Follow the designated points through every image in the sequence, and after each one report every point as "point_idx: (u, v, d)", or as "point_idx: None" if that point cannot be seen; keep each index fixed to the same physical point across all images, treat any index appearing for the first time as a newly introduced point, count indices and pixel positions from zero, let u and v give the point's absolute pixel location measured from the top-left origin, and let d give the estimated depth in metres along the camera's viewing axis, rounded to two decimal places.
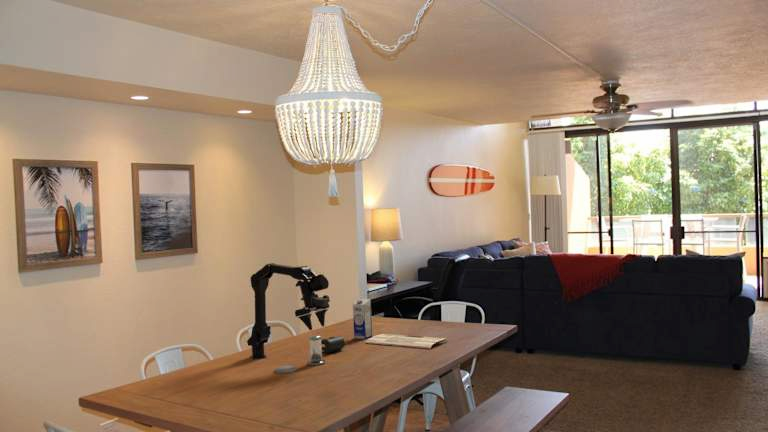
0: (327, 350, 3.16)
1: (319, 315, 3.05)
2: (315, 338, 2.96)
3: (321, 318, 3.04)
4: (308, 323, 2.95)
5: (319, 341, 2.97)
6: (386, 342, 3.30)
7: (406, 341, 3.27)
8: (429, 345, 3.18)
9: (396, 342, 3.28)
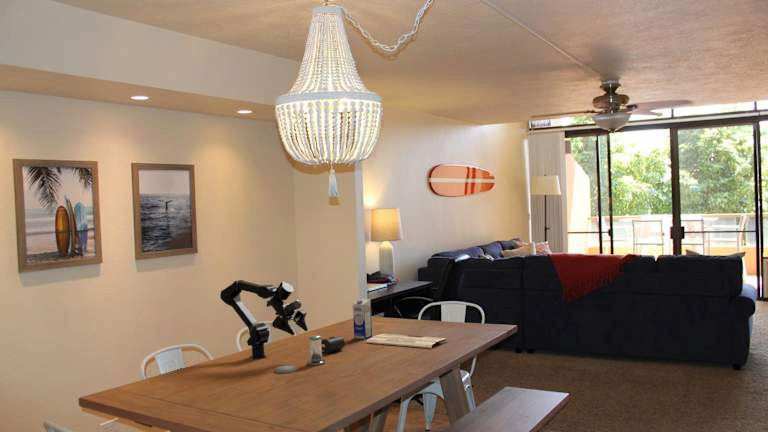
0: (327, 350, 3.16)
1: (300, 323, 3.09)
2: (315, 338, 2.96)
3: (302, 324, 3.08)
4: (288, 329, 2.99)
5: (319, 341, 2.97)
6: (386, 342, 3.31)
7: (406, 341, 3.28)
8: (429, 345, 3.18)
9: (396, 342, 3.28)
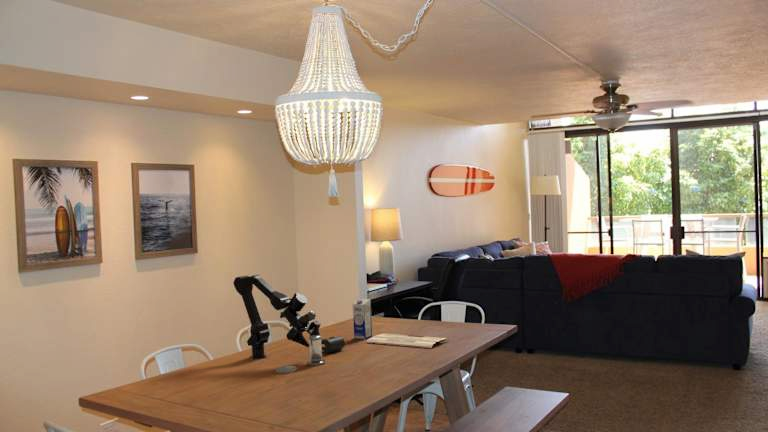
0: (327, 350, 3.16)
1: (314, 334, 3.05)
2: (315, 338, 2.96)
3: None
4: (303, 341, 2.95)
5: (319, 341, 2.97)
6: (387, 342, 3.31)
7: (407, 341, 3.28)
8: (430, 345, 3.19)
9: (397, 342, 3.29)
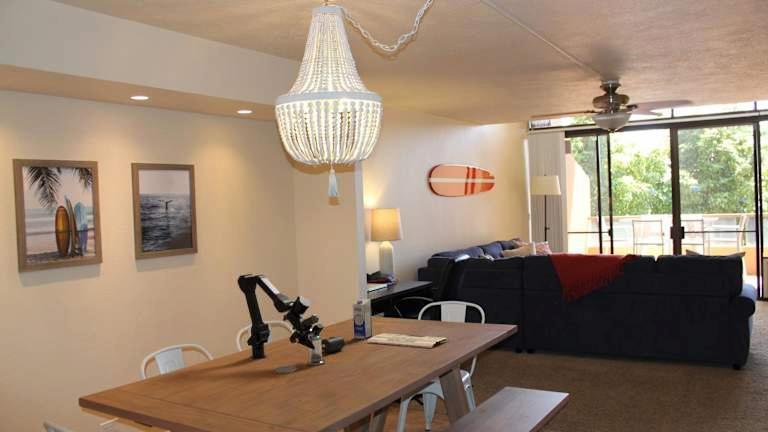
0: (327, 350, 3.16)
1: None
2: (315, 338, 2.96)
3: None
4: (309, 343, 2.96)
5: (319, 341, 2.97)
6: (387, 341, 3.32)
7: (407, 340, 3.29)
8: (430, 344, 3.19)
9: (397, 341, 3.29)
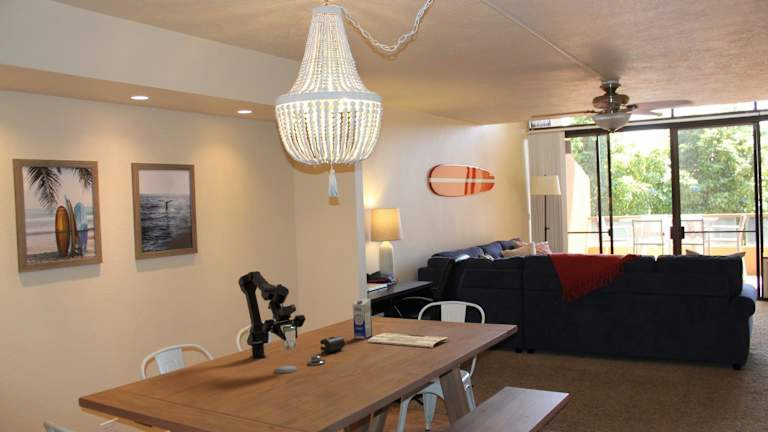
0: (327, 350, 3.16)
1: None
2: (286, 329, 2.86)
3: None
4: (280, 334, 2.87)
5: (291, 332, 2.87)
6: (388, 341, 3.32)
7: (408, 340, 3.29)
8: (431, 344, 3.20)
9: (398, 341, 3.30)
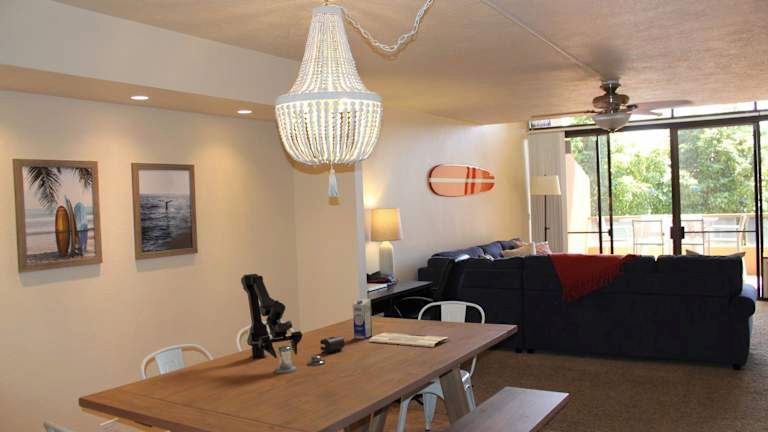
0: (327, 350, 3.16)
1: (292, 345, 2.93)
2: (281, 349, 2.85)
3: (294, 347, 2.91)
4: (271, 351, 2.86)
5: (286, 353, 2.86)
6: (389, 341, 3.33)
7: (409, 340, 3.30)
8: (432, 344, 3.21)
9: (399, 341, 3.31)
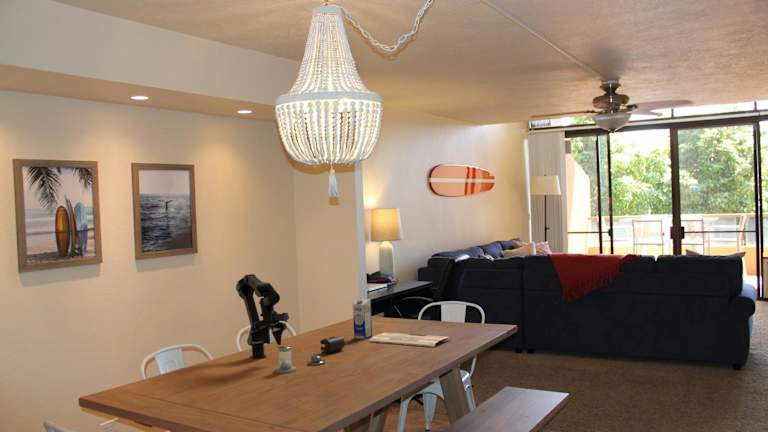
0: (327, 350, 3.16)
1: (276, 334, 3.04)
2: (281, 349, 2.86)
3: (277, 337, 3.04)
4: (267, 336, 2.94)
5: (286, 353, 2.86)
6: (390, 340, 3.34)
7: (410, 339, 3.31)
8: (433, 343, 3.21)
9: (400, 340, 3.31)
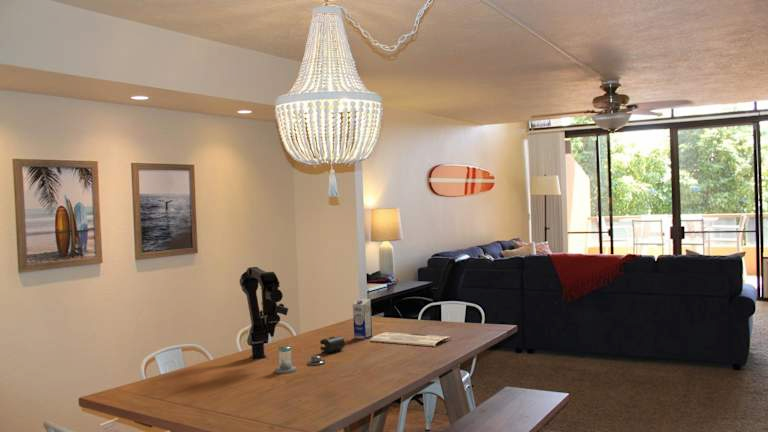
0: (327, 350, 3.16)
1: None
2: (281, 349, 2.86)
3: None
4: (273, 330, 2.97)
5: (286, 353, 2.86)
6: (390, 340, 3.34)
7: (410, 339, 3.31)
8: (433, 343, 3.22)
9: (400, 340, 3.32)
